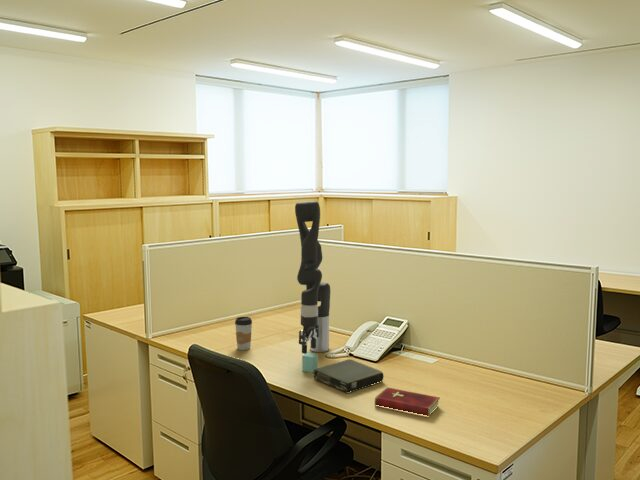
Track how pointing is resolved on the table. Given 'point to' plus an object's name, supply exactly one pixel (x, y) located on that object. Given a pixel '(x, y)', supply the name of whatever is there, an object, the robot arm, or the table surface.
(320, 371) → the network switch
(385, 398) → the hardcover book
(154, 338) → the table surface
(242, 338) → the coffee cup
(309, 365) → the teal block
